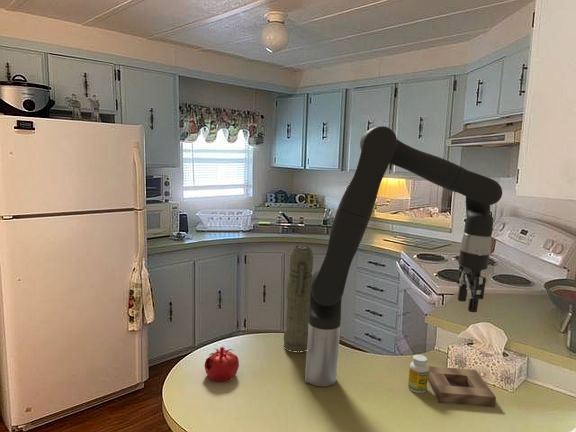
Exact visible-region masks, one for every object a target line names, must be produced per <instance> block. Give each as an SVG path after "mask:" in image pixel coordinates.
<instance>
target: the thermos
mask: <svg viewBox="0 0 576 432" xmlns="http://www.w3.org/2000/svg"><path fill="white" fill-rule="evenodd" d="M289 256H290V257H289V260H290V261H289V273H288V274H289V275H288V278H287V281H286V292H285V293H286V294H285V296H286V300H287V301H286V302H287V304H286V305H287V306H286V318H285V325H284V330H283V348H284V347H285V348H286V349H288V350H291V351H297V352H298V351H299V352H300V351H305V350H307V340H308V325H309V307H310V292H311V280H312V277H313V274H312V272H313V269H314V254H313V250H312V248H311V247H310V246H307V245H296V246H294V247H293V248H292V250H291V252H290V255H289ZM285 348H284V349H285ZM286 349H285V350H286Z"/></svg>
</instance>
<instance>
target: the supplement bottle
mask: <svg viewBox="0 0 576 432" xmlns="http://www.w3.org/2000/svg"><path fill="white" fill-rule="evenodd" d="M428 366H429V365H428V358H427V357H426V356H424V355H422V354H414V355H413V356H412V361H411V362H410V363H409V370H408V377H407V378H408V379H407V387H408V389H409V390H410V391H411V392H414V393H415V394H416V393H417V394H424V393H426V392H427V389H428V383H429V382H428V372H429V367H428Z"/></svg>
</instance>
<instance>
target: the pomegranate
mask: <svg viewBox="0 0 576 432" xmlns="http://www.w3.org/2000/svg"><path fill="white" fill-rule="evenodd" d="M213 349H214V350H216V351H214V352H211V353H210V354H209V355H208V357H207V358H206V359H205V360H204V361H205V362H204V370H205V373H206V376H207V377H208V378H209V379H210V380H211V381H213V382H217V383H222V382H229V381H231V380H232V379H233V378H235V376H236V375H237V373H238V370H239V367H240V361H239V357H238V355H236V354H234V353H233V352H234V351H235V350H234V349H232V348H229V349H226V348H225V347H224V346H220V348H216V347H215V348H213ZM231 351H233V352H231Z"/></svg>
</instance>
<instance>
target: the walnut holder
mask: <svg viewBox="0 0 576 432" xmlns="http://www.w3.org/2000/svg"><path fill="white" fill-rule="evenodd" d="M428 367H429V372H428V382H427V383H429V385H430V387H431V390H432V391H433V394H434V396H435V398H436V400H437V402H438V403H441V404H453V405H462V406H463V405H464V406H478V407H486V408H495V406H496V399H497V397H496V395H495V393H494V392H493V391H492V390H491V389H490V387H489V386H488V384H487V383H486V381H485V380H484V379H483V378H482V376H481V375H480V374H479V372H478V371H477V370H476V369H471V368H470V369H469V368H456V367H446V366H445V367H442V366H431V365H428Z"/></svg>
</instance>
